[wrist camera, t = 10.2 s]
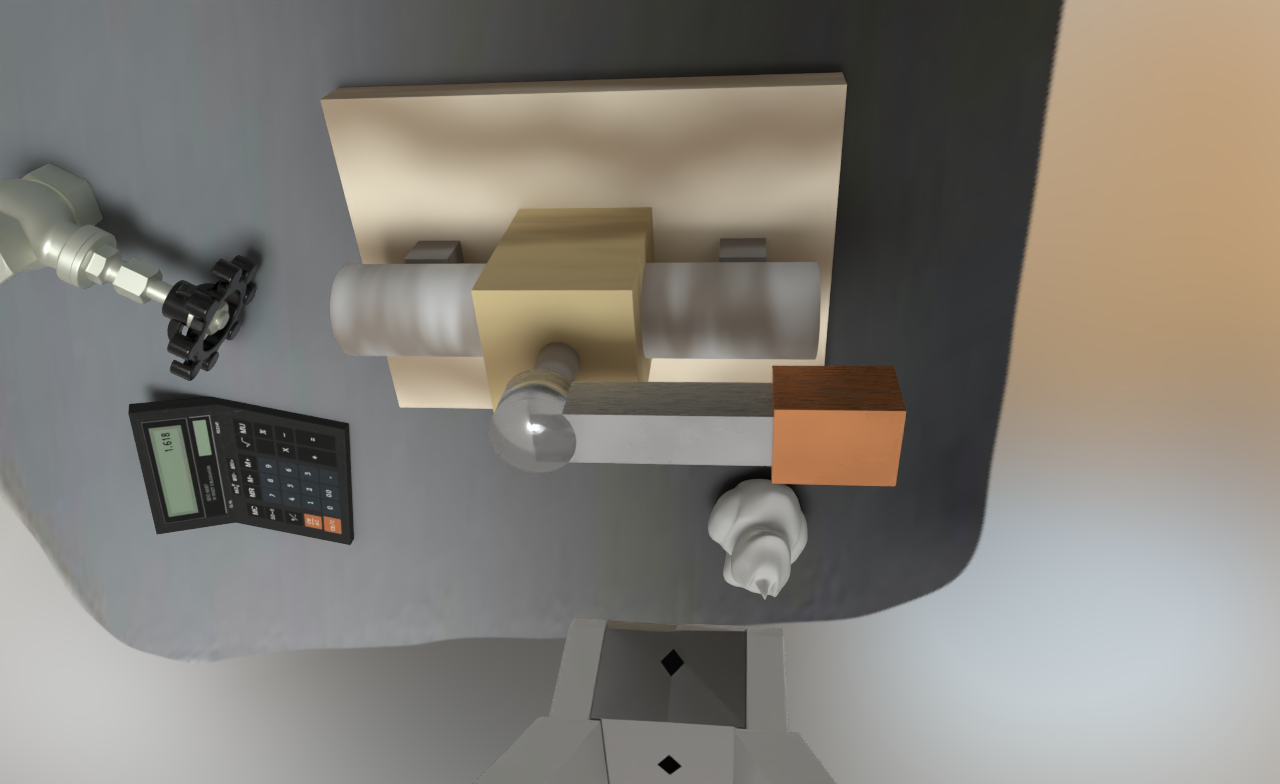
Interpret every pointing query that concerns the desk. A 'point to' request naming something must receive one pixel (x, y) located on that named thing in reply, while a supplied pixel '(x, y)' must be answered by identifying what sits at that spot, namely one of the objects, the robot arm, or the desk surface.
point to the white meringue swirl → (759, 534)
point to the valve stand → (587, 229)
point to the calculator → (244, 467)
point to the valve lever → (711, 423)
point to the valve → (115, 263)
